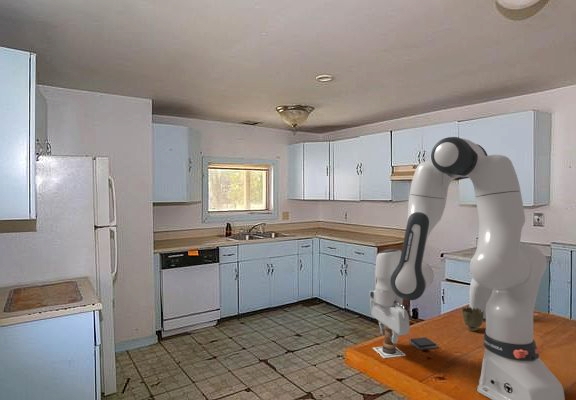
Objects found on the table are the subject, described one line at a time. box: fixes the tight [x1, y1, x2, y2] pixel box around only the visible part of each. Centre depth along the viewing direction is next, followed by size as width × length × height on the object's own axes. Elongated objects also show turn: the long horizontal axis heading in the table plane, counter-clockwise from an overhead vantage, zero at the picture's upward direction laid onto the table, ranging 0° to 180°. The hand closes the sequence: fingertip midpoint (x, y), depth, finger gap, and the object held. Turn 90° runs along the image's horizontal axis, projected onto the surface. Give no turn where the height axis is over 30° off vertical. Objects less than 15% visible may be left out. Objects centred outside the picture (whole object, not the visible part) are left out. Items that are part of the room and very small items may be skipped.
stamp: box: [381, 325, 397, 354], centre depth 125 cm, size 4×4×10 cm
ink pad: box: [408, 336, 439, 351], centre depth 131 cm, size 7×7×1 cm
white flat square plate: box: [372, 346, 407, 359], centre depth 125 cm, size 8×8×1 cm
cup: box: [461, 306, 484, 332], centre depth 144 cm, size 8×7×8 cm
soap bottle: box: [468, 277, 493, 320], centre depth 158 cm, size 14×8×27 cm, turn 122°
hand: (388, 338), depth 125 cm, fingers open, 5 cm apart
